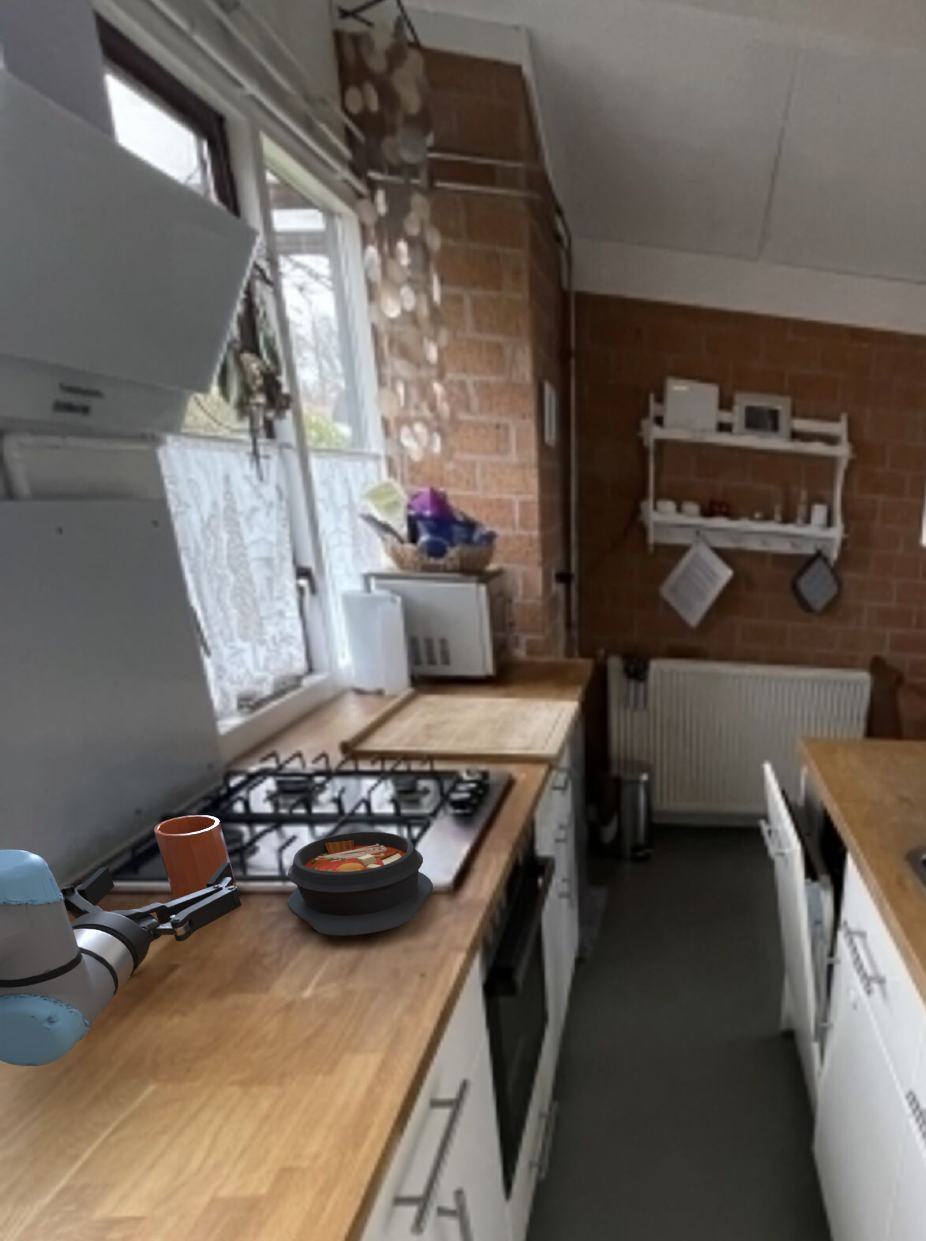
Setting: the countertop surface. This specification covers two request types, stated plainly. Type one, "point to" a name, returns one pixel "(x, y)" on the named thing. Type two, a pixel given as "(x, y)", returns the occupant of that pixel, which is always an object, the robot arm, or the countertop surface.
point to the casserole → (358, 883)
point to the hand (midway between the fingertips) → (169, 874)
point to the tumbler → (191, 852)
